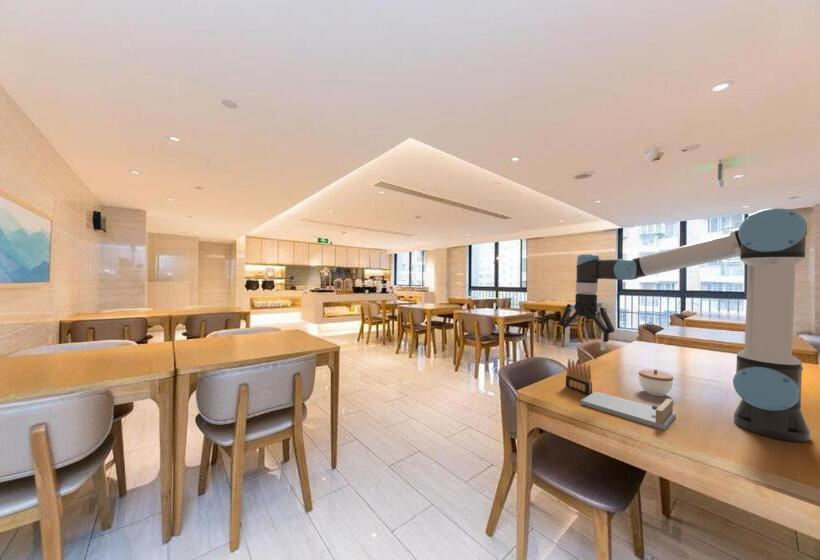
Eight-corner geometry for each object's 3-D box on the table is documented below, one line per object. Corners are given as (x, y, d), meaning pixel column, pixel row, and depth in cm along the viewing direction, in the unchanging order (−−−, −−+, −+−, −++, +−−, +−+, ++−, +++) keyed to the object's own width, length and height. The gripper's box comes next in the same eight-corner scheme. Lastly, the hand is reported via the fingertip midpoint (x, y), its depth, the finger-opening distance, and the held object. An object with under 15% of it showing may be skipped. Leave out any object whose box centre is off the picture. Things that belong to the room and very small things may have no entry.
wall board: (675, 417, 103) (675, 400, 103) (664, 430, 94) (665, 412, 94) (595, 395, 121) (595, 381, 121) (580, 404, 112) (580, 389, 112)
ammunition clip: (592, 395, 121) (592, 364, 121) (589, 396, 120) (589, 365, 120) (568, 386, 131) (568, 358, 130) (565, 387, 130) (565, 358, 130)
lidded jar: (660, 389, 129) (660, 366, 128) (679, 399, 118) (680, 374, 118) (632, 387, 130) (632, 365, 130) (649, 397, 119) (650, 373, 119)
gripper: (626, 295, 117) (623, 351, 117) (559, 291, 136) (557, 339, 137) (618, 296, 112) (616, 354, 113) (551, 291, 132) (549, 341, 132)
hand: (584, 346), depth 125 cm, fingers open, 13 cm apart
